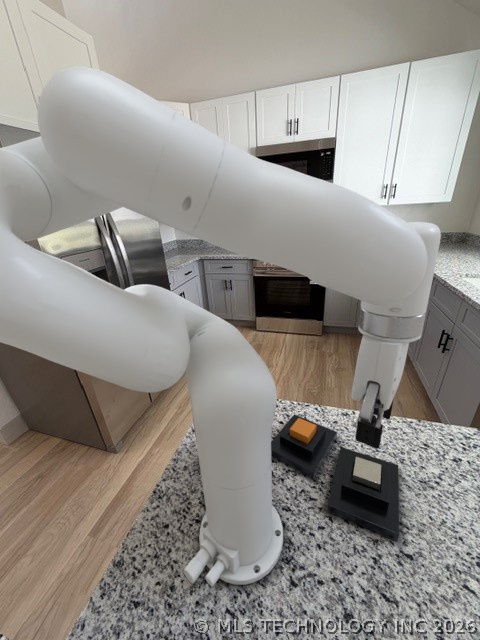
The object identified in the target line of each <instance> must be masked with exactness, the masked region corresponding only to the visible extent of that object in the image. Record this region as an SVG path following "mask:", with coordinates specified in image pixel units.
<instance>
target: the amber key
mask: <svg viewBox="0 0 480 640" xmlns="http://www.w3.org/2000/svg"><path fill="white" fill-rule="evenodd" d="M316 426H317V425H315V424H312V423H310V422H307V421H305V420H303V419H300V418H298V419H297V421H296V422H295V423H294V424H293V426H292V427H291V428H290V436H291V437H294V438H296V439H298V440H300V441H302V442H304V443H306V444H309V442H310V441H311V439H312V438H313V436H314V435H315V433H316Z"/></svg>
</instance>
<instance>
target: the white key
mask: <svg viewBox="0 0 480 640" xmlns="http://www.w3.org/2000/svg"><path fill="white" fill-rule="evenodd" d="M380 480H381V465H380V464H377V463H374V462H371V461H368V460H365V459H362V458H359V457H356V459H355V466H354V472H353V479H352V482H353V483H355V484H358V485H361V486H364V487H366V488H369V489H372V490H375V491H377V492H379V489H380Z"/></svg>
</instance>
